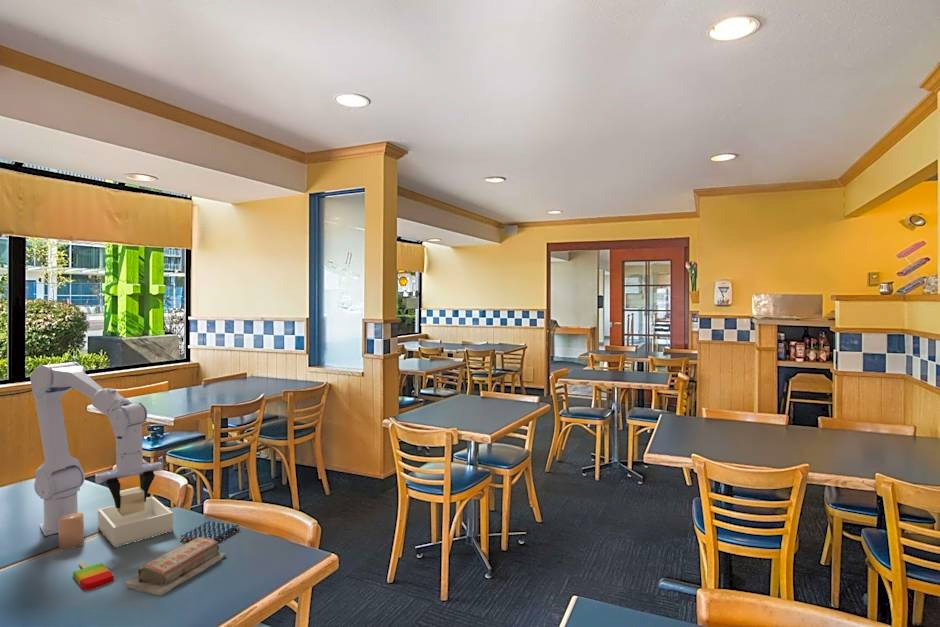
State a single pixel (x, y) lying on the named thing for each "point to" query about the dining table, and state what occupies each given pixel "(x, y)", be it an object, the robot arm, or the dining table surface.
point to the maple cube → (131, 501)
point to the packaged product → (176, 566)
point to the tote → (135, 523)
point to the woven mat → (210, 531)
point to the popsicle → (92, 576)
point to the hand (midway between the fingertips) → (130, 504)
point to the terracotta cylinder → (71, 530)
